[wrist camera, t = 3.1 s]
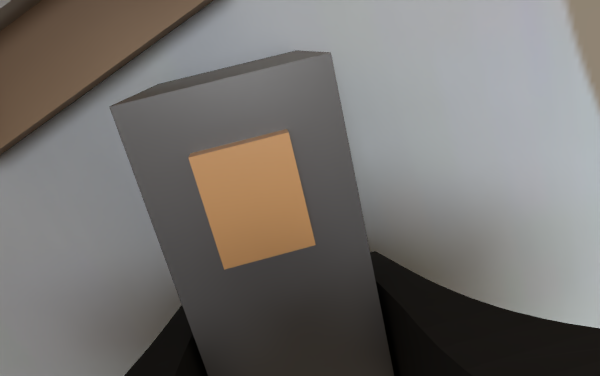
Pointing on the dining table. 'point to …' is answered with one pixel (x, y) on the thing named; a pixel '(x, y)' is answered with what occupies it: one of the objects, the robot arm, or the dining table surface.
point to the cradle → (71, 51)
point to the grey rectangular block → (260, 217)
